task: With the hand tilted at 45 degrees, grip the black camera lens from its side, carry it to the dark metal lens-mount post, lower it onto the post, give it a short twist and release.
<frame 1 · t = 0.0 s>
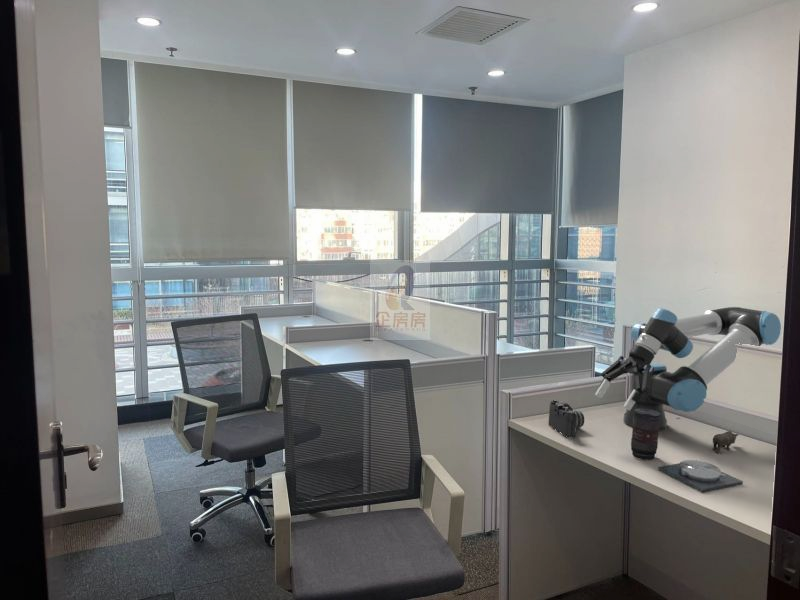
hand: (611, 402, 196), 15 cm above the table, tool tilted 35°, fingers open, 13 cm apart
rhino figurine: (725, 449, 198), on the table
camera: (568, 430, 213), on the table
camera lens: (643, 456, 190), on the table
mount: (699, 477, 175), on the table
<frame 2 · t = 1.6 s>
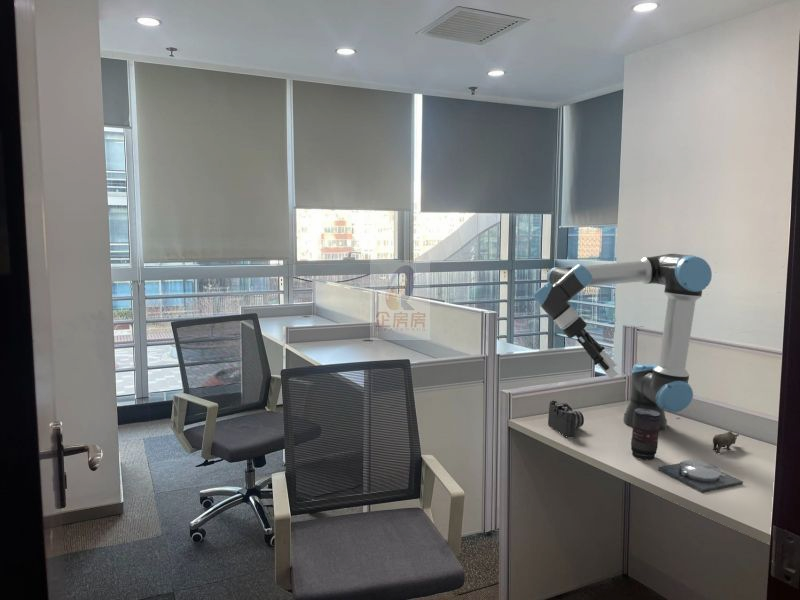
hand: (614, 371, 194), 26 cm above the table, tool tilted 45°, fingers open, 13 cm apart
nothing on the table moved.
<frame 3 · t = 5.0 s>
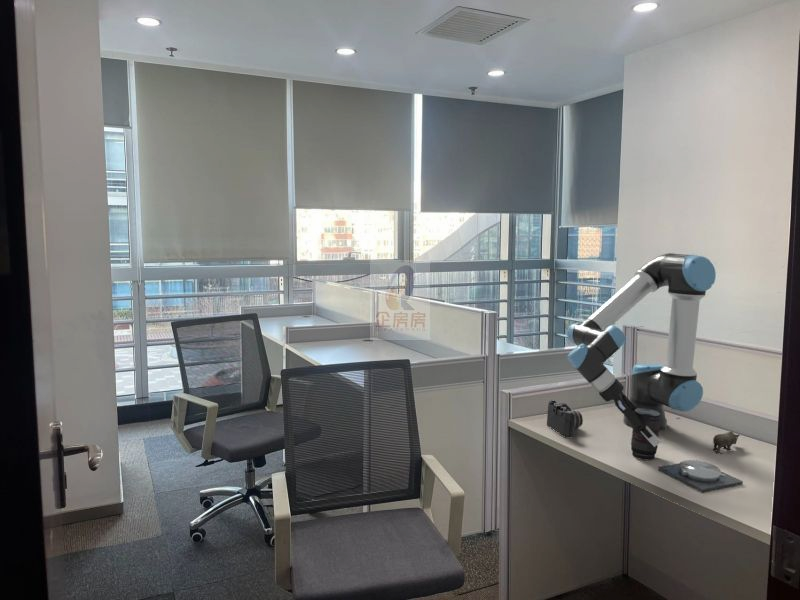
hand: (656, 439, 188), 6 cm above the table, tool tilted 45°, fingers closed on camera lens, 8 cm apart
camera lens: (643, 456, 190), on the table, touching gripper
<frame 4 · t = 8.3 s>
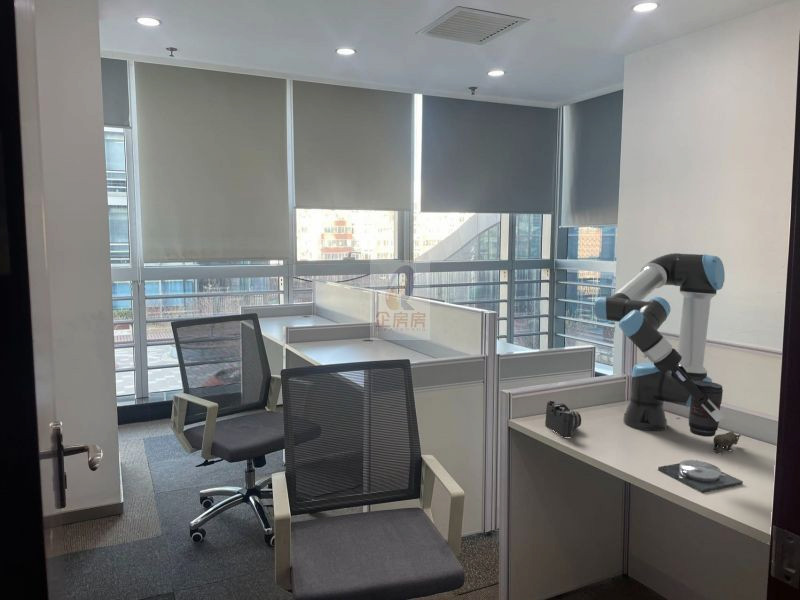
hand: (717, 414, 171), 20 cm above the table, tool tilted 45°, fingers closed on camera lens, 8 cm apart
camera lens: (702, 433, 173), point 14 cm above the table, touching gripper
when the fingers open (10 cm above the table, at t = 10.8 s): camera lens stays where it is, resting on mount.
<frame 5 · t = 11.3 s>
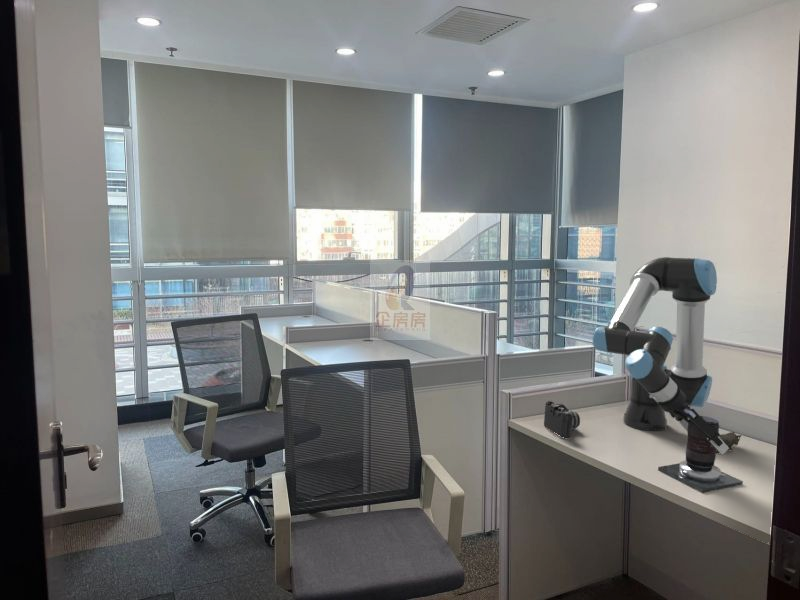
hand: (709, 442, 174), 11 cm above the table, tool tilted 45°, fingers open, 13 cm apart
camera lens: (699, 468, 175), point 3 cm above the table, touching mount
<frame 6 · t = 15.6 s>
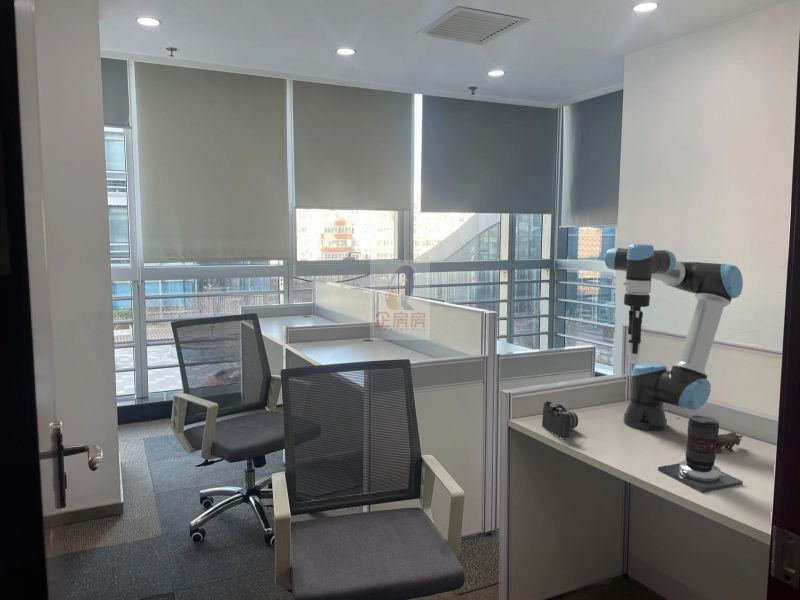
hand: (632, 358, 188), 32 cm above the table, tool pointing down, fingers open, 13 cm apart
at the end: camera lens 0.2 cm from the mount (horizontally); camera lens tilted 0°; the gripper is holding nothing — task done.
